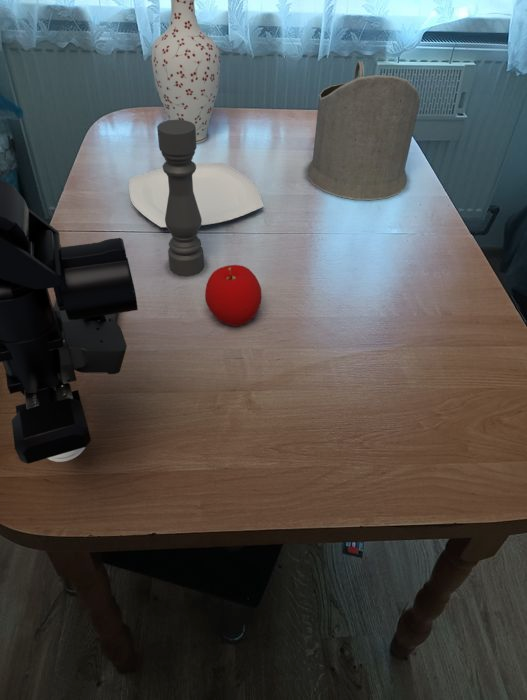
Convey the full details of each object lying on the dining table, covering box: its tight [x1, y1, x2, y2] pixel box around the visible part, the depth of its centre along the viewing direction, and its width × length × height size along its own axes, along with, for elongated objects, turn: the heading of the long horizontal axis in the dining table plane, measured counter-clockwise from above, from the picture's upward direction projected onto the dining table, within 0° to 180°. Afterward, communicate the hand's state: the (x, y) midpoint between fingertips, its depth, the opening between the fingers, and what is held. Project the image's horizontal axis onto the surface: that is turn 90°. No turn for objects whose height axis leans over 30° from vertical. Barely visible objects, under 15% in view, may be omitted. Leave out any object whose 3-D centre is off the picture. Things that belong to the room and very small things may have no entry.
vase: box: [150, 0, 221, 145], centre depth 127 cm, size 16×16×35 cm
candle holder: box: [156, 119, 205, 277], centre depth 89 cm, size 6×6×25 cm
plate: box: [128, 162, 264, 229], centre depth 115 cm, size 27×27×2 cm
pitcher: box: [306, 60, 421, 201], centre depth 121 cm, size 23×32×25 cm
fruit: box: [204, 264, 263, 327], centre depth 84 cm, size 9×9×10 cm
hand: (60, 429), depth 60 cm, fingers closed
